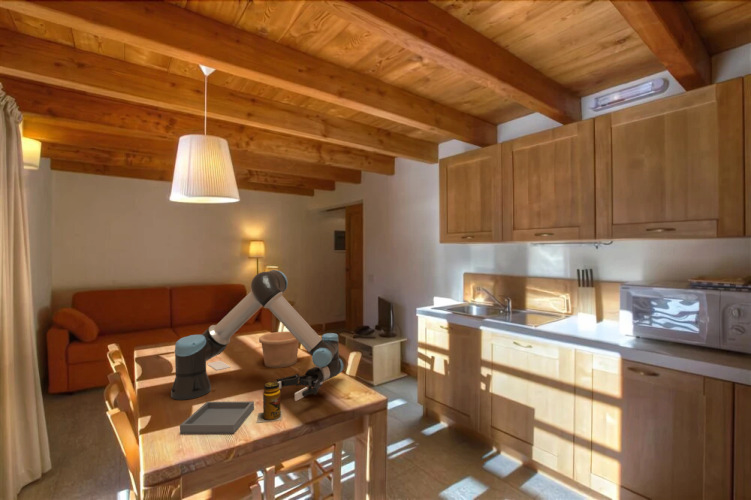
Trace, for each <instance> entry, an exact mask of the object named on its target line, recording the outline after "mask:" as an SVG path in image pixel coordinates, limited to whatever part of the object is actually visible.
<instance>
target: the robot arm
mask: <svg viewBox="0 0 751 500" xmlns="http://www.w3.org/2000/svg"><path fill="white" fill-rule="evenodd" d="M288 281H289V280H288V278H287V275H286V274H285V273H283V272H282V271H280V270H278V269H277V270H276V269H271V270H268V271H262V272H259V273H257V274H256V275H255V276H254V277H253V278H252V280H251V283H250V292H249V293H247V295H245V297H243V298H242V299H241V300H240V301H239V302H238V303H237V304H236V305H235V306H234V307H233V308H232V309H231V310H230V311H229V312H228V313H227V314H226V315H225V316H224V317H223V318H221V320H220V321H219V322H218V323H217V324H212V325H210V326H209V327H208V328H207V329H206V330H204V332H203V333H201V334H191V335H188V336H184V337H181V338H179V339H178V340H177V341H176V342H175V344H174V345H175V346H174V347H175V349H174V362H175V364H174V365H175V366H174V367H175V377H174V381H173V384H172V387H171V390H170V396H171V398H172V399H174V400H179V401H180V400H181V401H183V400H192V399H197V398H200V397H202V396H205V395H208V393H210V392H211V391H212V384H211V381H210V379H209V375H208V373H207V362H208V361H209V360H212V359H214V358H215V357H217V356H220V355H221V354H222V352H223V351H225V349H226V347H227V345H228V344H229V343H230V342H231V338H232V336H233V335H234V334H235V333H236V332H237V331H238V330H239V329H241V328H242V326H243V325H245V324H246V323H247V322H248V321H249V320H250V319H252V317H253V316H254V315H255V314H256V313H257V312H259V310H260V309H261V308H265V309H268V310H269V311H270V312H271V313H272V314H273V315H274V316H275V318H277V320H279V322H280V323H281V324H282V325H283V326H284V327H285V328H286V329H287V331H288V332H291V334H292V335H293V336H294V337H295V338H296V339H297V340H298V341H299V344H301V346H303V348H304V349H305V351H307V352H308V353H309V355H310V356H311V360H312V363H313V365H315V366H314V367H312V368H309V369H308V370H306V372H305V374H302V375H300V374H299V373H296V374H294V375H288V376H285V377H280V378H276V381H275V382H278V383H279V390H281V389H282V388H284V387H291V386H305V387H304V388H302V389H300V390H298V391H296V392H294V401H295V402H297V401H298V400H301V399H302V398H305V397H307V396H308V395H312V394H313V395H314V396H315V395H317V394H318V392H319V390H320V388H321V387H322V386H323V383H324V382H326V381H328V380H331V379H333V378H334V377H336V376H338V375H339V374H341V373H342V372H343V370H344V362H343V360H342V359H341V358H340V357H339V356H340V353H339V350H340V349H339V347H340V346H339V342H340V341H339V334H337V333H333V332H327V333H324V334H322V336H320V335H319V334H318V333H317V332H316V331H315V329H313V328H312V327H311V325H310V324H309V323H308V322H307V321H306V320H305V319H304V318H303V316H302V315H301V314H300V313H298V311H297V310H296V309H295V307H293V306H292V305H291V304H290V302H289V301H288V300H287V299H286V298H285V297H284V296H283V293H285V291H286V290H287V288H288V285H289V282H288Z"/></svg>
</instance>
